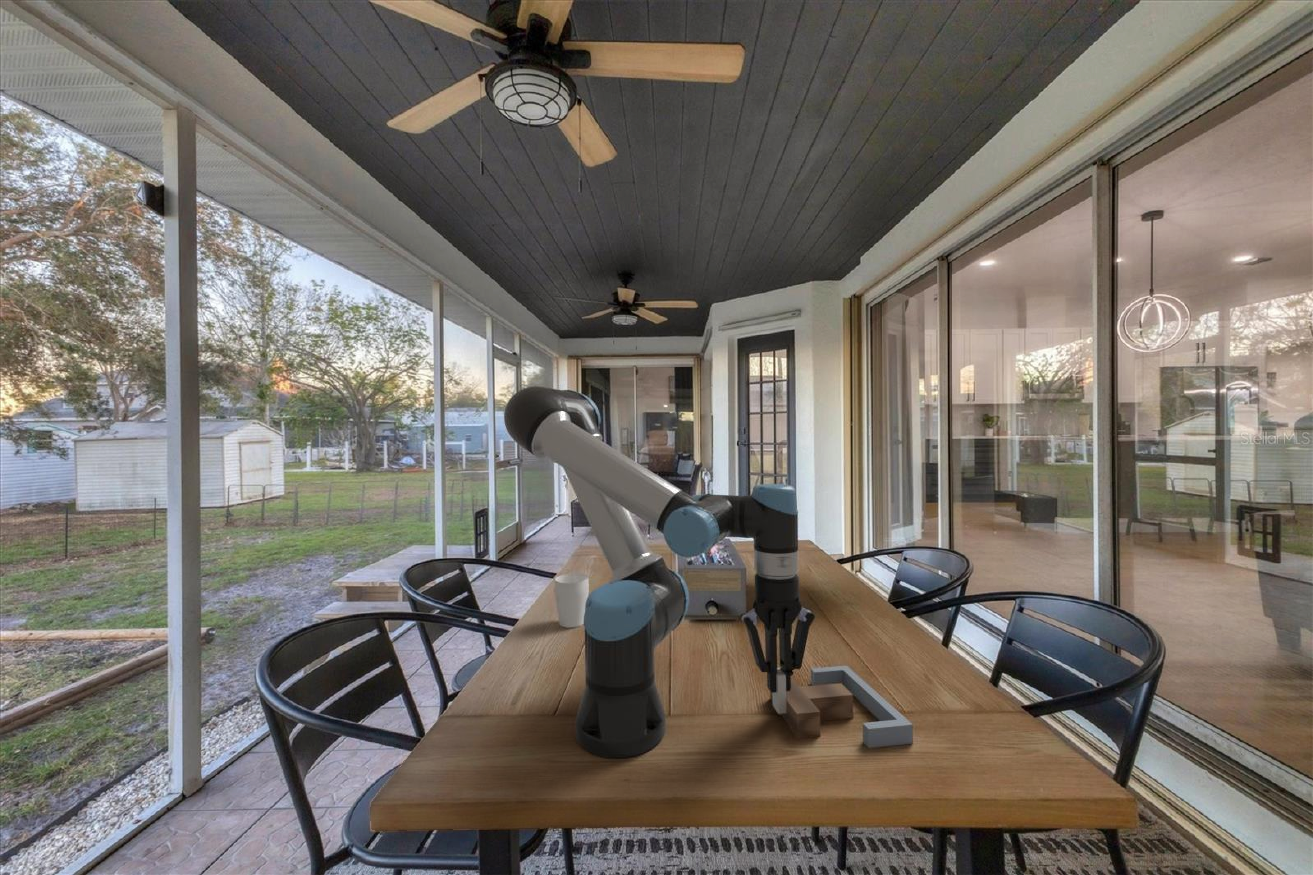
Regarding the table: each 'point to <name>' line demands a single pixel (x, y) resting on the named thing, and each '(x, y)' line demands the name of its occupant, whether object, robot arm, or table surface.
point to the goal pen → (869, 708)
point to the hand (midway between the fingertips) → (779, 709)
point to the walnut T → (815, 707)
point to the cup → (571, 599)
